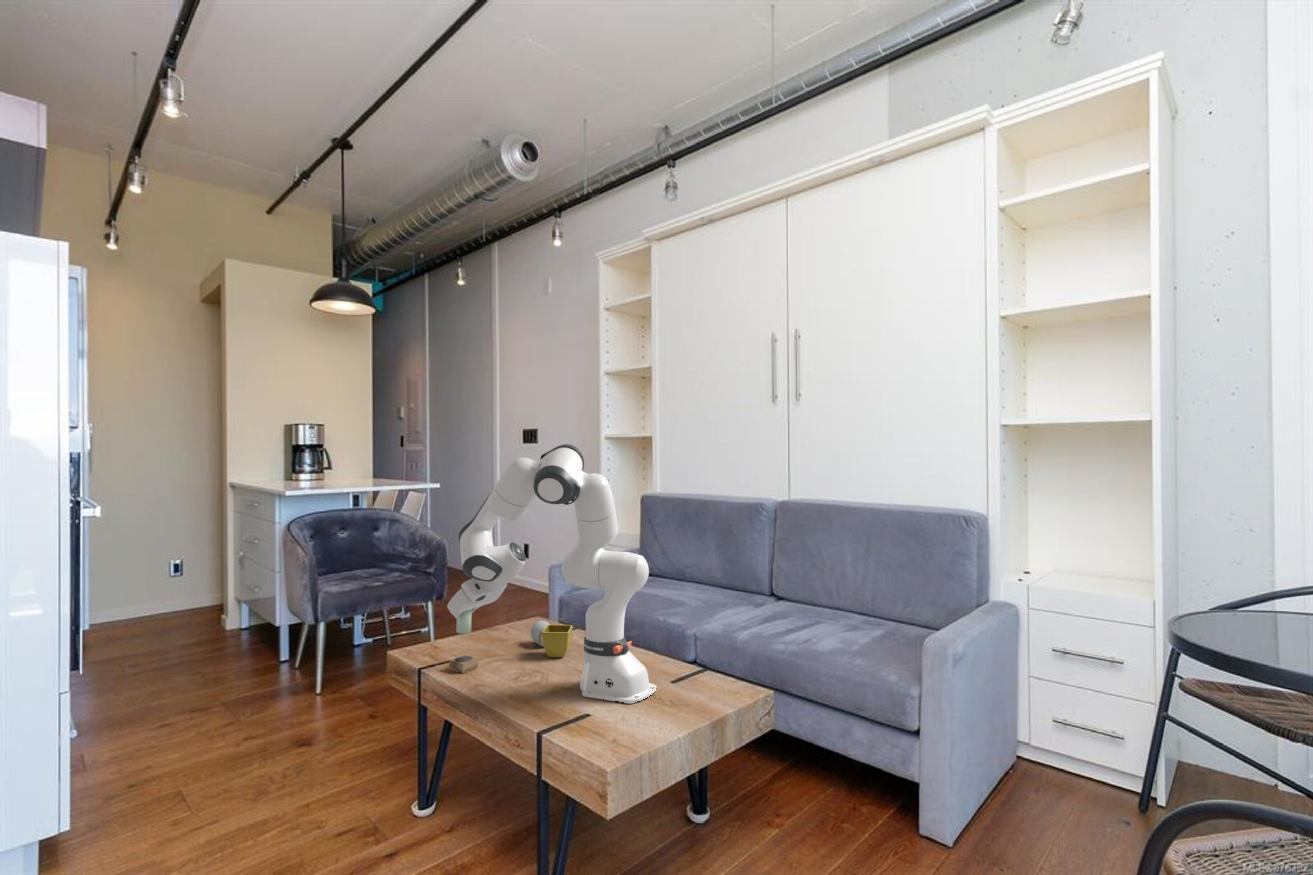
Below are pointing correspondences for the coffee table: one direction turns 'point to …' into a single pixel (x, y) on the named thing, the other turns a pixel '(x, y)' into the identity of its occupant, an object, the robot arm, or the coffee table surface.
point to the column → (464, 622)
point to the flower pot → (556, 639)
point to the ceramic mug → (538, 632)
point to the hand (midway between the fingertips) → (462, 614)
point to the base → (463, 664)
